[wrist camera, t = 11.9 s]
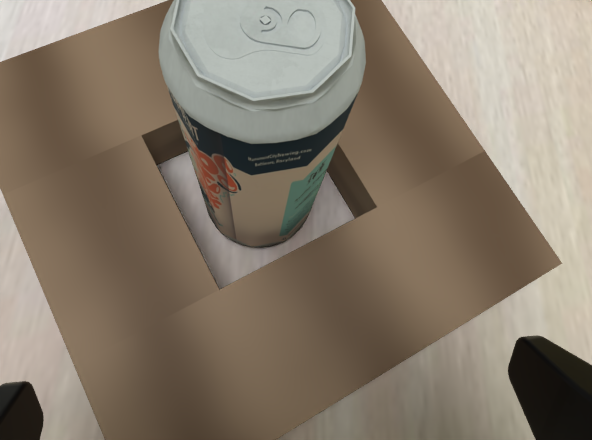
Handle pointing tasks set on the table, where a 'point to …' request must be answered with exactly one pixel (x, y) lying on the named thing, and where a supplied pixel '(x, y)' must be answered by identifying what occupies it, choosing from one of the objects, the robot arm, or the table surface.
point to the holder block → (267, 280)
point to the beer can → (261, 104)
